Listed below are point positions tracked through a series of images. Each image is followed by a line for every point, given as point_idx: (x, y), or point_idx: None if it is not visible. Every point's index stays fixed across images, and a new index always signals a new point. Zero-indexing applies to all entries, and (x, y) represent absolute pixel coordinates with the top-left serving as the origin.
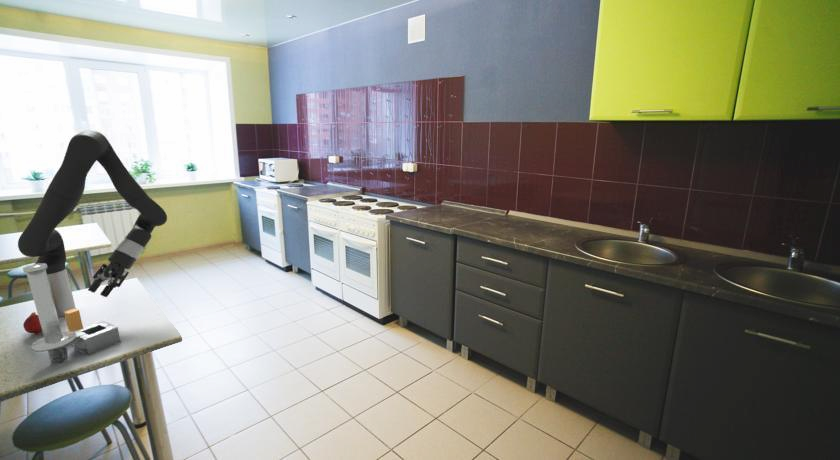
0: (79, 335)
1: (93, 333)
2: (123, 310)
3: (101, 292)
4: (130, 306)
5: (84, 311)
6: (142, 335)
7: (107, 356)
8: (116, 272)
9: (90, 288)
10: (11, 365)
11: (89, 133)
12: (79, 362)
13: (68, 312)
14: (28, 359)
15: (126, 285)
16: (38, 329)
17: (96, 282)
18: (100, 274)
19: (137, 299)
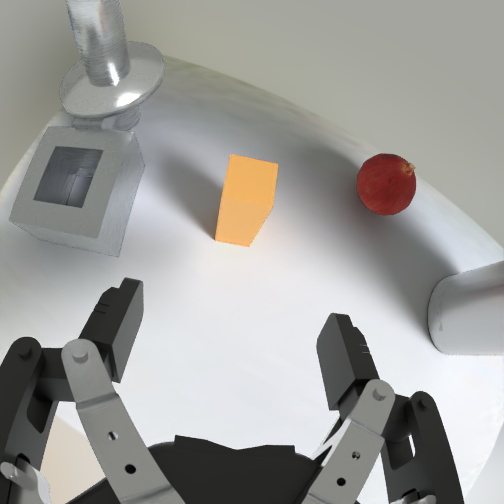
0: (85, 132)
1: (50, 157)
2: (283, 434)
3: (134, 289)
4: None
5: (410, 360)
6: (12, 293)
7: (20, 173)
8: (74, 502)
9: (336, 326)
10: (226, 79)
11: None
12: None
13: (246, 164)
14: (216, 100)
15: None
16: (357, 179)
17: (346, 382)
18: (345, 441)
19: None
